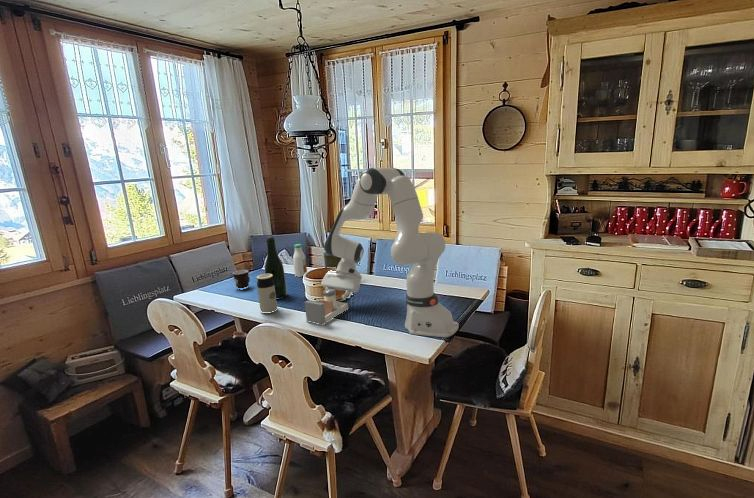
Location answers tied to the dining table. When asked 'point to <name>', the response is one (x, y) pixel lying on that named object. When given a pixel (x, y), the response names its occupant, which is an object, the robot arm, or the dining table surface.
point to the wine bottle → (275, 268)
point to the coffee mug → (241, 278)
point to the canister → (331, 260)
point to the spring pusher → (327, 306)
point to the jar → (330, 296)
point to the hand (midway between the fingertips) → (334, 297)
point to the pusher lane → (338, 311)
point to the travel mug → (266, 293)
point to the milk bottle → (299, 261)
